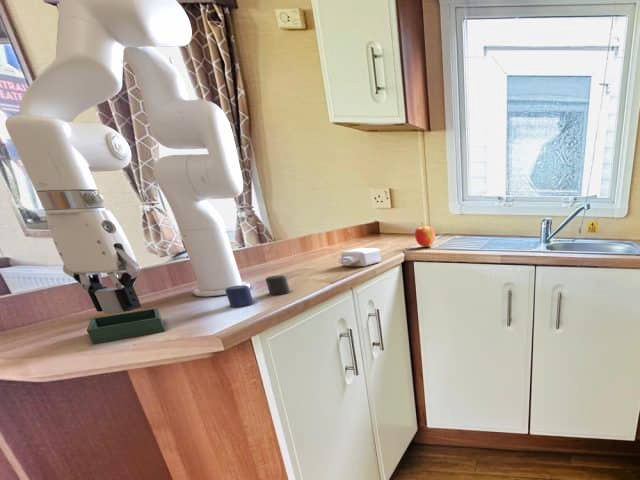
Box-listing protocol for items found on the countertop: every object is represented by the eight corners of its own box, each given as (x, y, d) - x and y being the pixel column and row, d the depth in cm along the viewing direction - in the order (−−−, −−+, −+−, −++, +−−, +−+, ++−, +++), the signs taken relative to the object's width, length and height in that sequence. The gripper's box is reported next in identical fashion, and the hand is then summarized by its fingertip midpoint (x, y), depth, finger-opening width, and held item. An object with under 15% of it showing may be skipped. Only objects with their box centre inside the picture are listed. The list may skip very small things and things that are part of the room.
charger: (330, 269, 135) (359, 261, 148) (354, 270, 133) (381, 262, 145) (327, 254, 133) (356, 247, 146) (351, 254, 131) (379, 247, 143)
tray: (97, 331, 81) (90, 318, 80) (162, 320, 87) (157, 307, 86) (93, 344, 74) (86, 330, 73) (165, 331, 80) (159, 317, 79)
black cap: (267, 293, 107) (263, 277, 105) (287, 290, 109) (283, 274, 108) (272, 296, 104) (267, 279, 102) (292, 292, 106) (287, 276, 104)
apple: (439, 246, 179) (437, 221, 174) (424, 248, 173) (421, 222, 169) (428, 245, 184) (425, 220, 180) (413, 247, 179) (409, 222, 174)
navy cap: (229, 304, 97) (223, 287, 95) (251, 301, 99) (246, 284, 98) (232, 308, 94) (226, 290, 92) (255, 304, 96) (250, 287, 95)
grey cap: (104, 310, 79) (94, 289, 77) (135, 306, 81) (127, 285, 80) (102, 315, 75) (92, 293, 74) (135, 310, 78) (126, 288, 76)
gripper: (138, 200, 73) (177, 304, 81) (52, 204, 75) (99, 305, 83) (96, 201, 66) (143, 314, 74) (2, 205, 68) (58, 315, 76)
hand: (119, 308), depth 78 cm, fingers closed on grey cap, 4 cm apart
